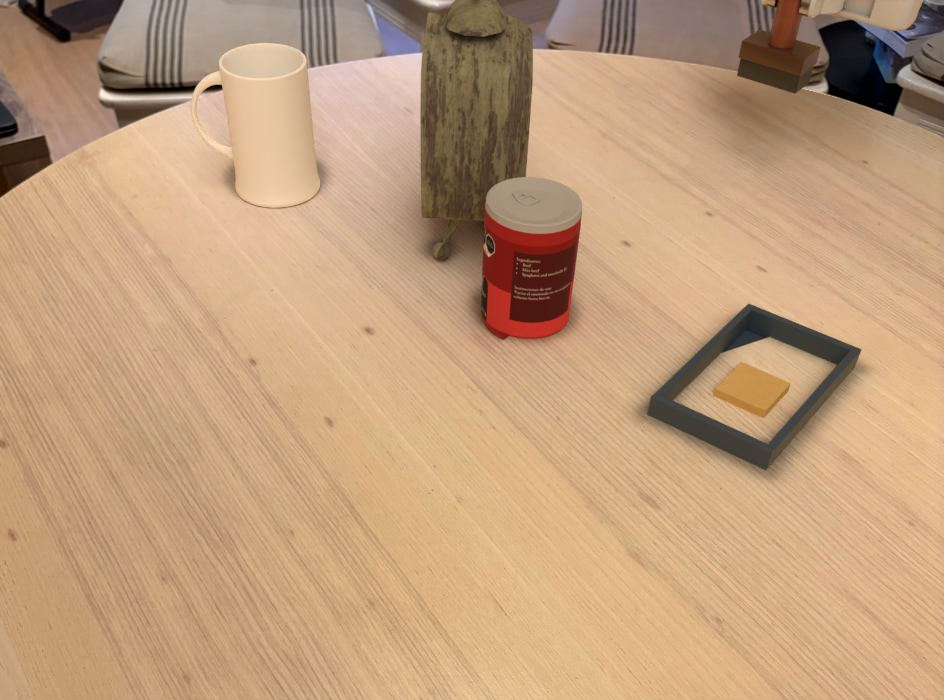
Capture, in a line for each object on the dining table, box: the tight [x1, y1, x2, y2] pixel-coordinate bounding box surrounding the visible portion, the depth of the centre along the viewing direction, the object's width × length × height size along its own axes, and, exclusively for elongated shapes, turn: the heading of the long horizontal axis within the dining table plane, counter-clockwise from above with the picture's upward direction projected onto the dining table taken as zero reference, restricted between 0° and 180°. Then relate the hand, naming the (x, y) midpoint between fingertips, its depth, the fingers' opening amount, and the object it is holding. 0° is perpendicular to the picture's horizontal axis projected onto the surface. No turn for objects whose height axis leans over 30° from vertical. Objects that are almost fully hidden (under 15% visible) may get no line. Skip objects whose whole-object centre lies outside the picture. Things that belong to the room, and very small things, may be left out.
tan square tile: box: [713, 361, 791, 419], centre depth 82 cm, size 4×4×1 cm
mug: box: [190, 42, 321, 209], centre depth 99 cm, size 12×8×12 cm
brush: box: [736, 0, 821, 95], centre depth 99 cm, size 4×7×12 cm, turn 53°
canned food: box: [480, 176, 583, 340], centre depth 86 cm, size 8×8×11 cm
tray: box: [646, 303, 862, 471], centre depth 82 cm, size 16×10×3 cm, turn 143°
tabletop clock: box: [420, 0, 534, 261], centre depth 89 cm, size 14×9×25 cm, turn 178°
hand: (788, 2), depth 98 cm, fingers closed on brush, 2 cm apart
